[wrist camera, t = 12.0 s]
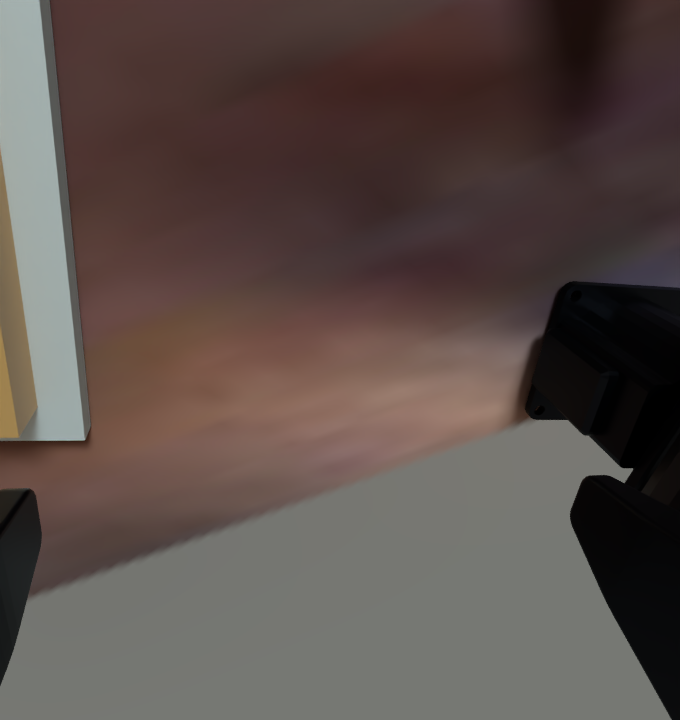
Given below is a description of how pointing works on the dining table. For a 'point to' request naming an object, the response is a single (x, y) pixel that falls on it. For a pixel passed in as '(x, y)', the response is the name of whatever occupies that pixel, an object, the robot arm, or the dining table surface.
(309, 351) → the dining table surface
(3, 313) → the plate
